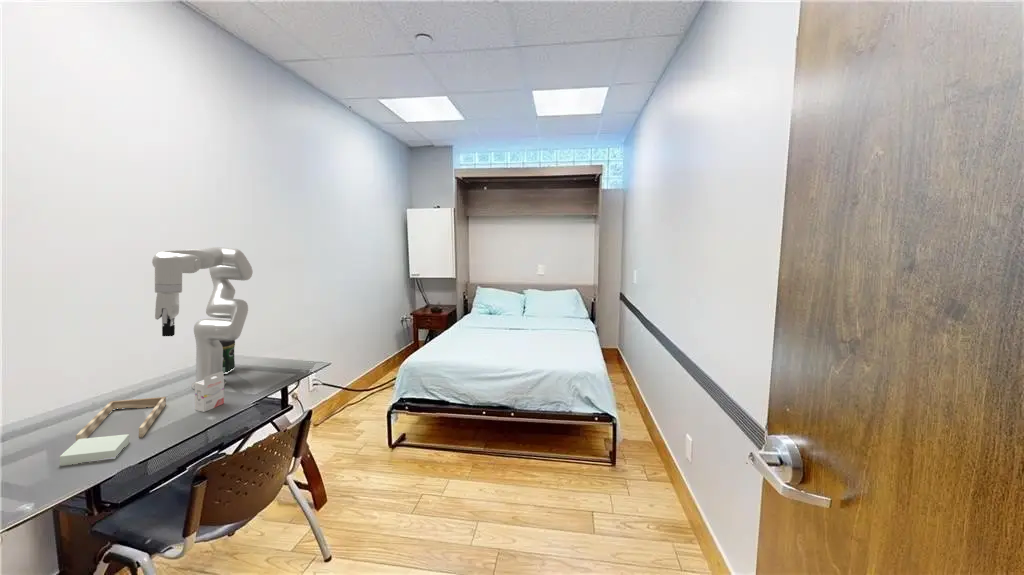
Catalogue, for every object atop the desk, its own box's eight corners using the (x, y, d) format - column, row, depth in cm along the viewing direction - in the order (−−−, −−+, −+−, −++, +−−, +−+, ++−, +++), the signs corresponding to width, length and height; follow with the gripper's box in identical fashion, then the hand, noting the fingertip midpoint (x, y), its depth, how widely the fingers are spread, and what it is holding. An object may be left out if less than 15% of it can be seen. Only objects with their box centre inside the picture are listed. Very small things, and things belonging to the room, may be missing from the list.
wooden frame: (110, 409, 143) (110, 401, 143) (165, 404, 151) (165, 396, 151) (76, 445, 121) (75, 435, 121) (142, 437, 129) (142, 427, 129)
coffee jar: (220, 368, 191) (220, 334, 189) (237, 369, 193) (238, 335, 191) (208, 375, 182) (209, 339, 180) (226, 376, 183) (227, 340, 181)
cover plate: (79, 449, 120) (78, 439, 119) (129, 443, 125) (129, 434, 125) (59, 467, 111) (59, 456, 111) (114, 460, 117) (114, 450, 116)
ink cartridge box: (214, 401, 158) (215, 368, 157) (224, 403, 157) (225, 370, 156) (193, 410, 150) (194, 375, 148) (203, 412, 149) (204, 377, 147)
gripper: (161, 284, 143) (161, 330, 145) (148, 291, 130) (148, 341, 132) (186, 285, 146) (186, 330, 149) (176, 292, 134) (175, 340, 136)
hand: (168, 335), depth 140 cm, fingers closed
